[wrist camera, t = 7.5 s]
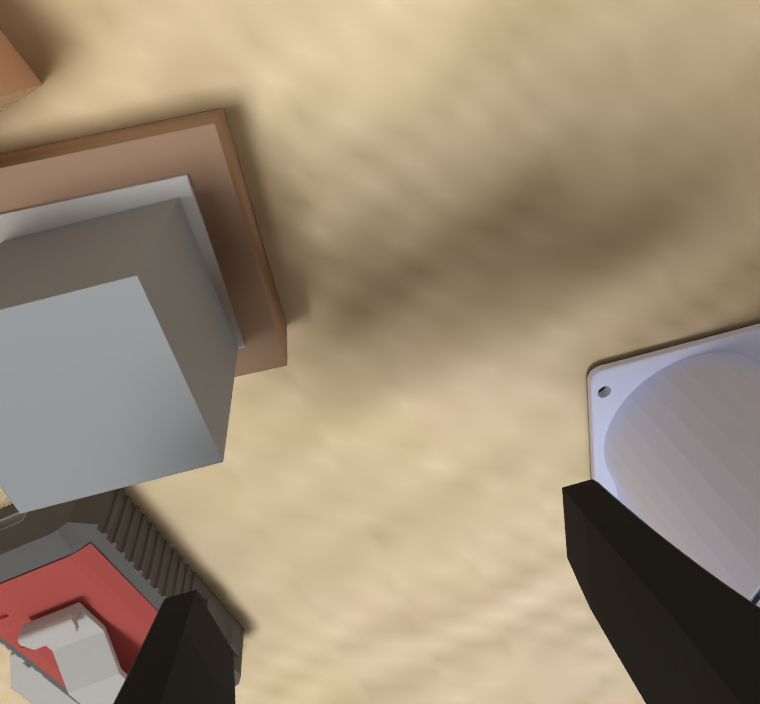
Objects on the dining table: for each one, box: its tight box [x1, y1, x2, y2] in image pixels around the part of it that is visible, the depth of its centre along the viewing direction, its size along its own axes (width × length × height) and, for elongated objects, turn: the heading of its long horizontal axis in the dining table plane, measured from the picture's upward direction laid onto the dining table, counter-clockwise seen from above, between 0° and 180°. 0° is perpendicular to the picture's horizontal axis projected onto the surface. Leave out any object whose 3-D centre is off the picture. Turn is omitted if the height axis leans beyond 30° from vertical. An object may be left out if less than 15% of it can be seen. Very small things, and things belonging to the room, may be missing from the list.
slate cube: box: [0, 197, 238, 514], centre depth 14 cm, size 4×4×5 cm
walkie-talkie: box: [0, 488, 244, 704], centre depth 25 cm, size 9×4×20 cm
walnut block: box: [0, 108, 287, 377], centre depth 17 cm, size 7×7×3 cm
